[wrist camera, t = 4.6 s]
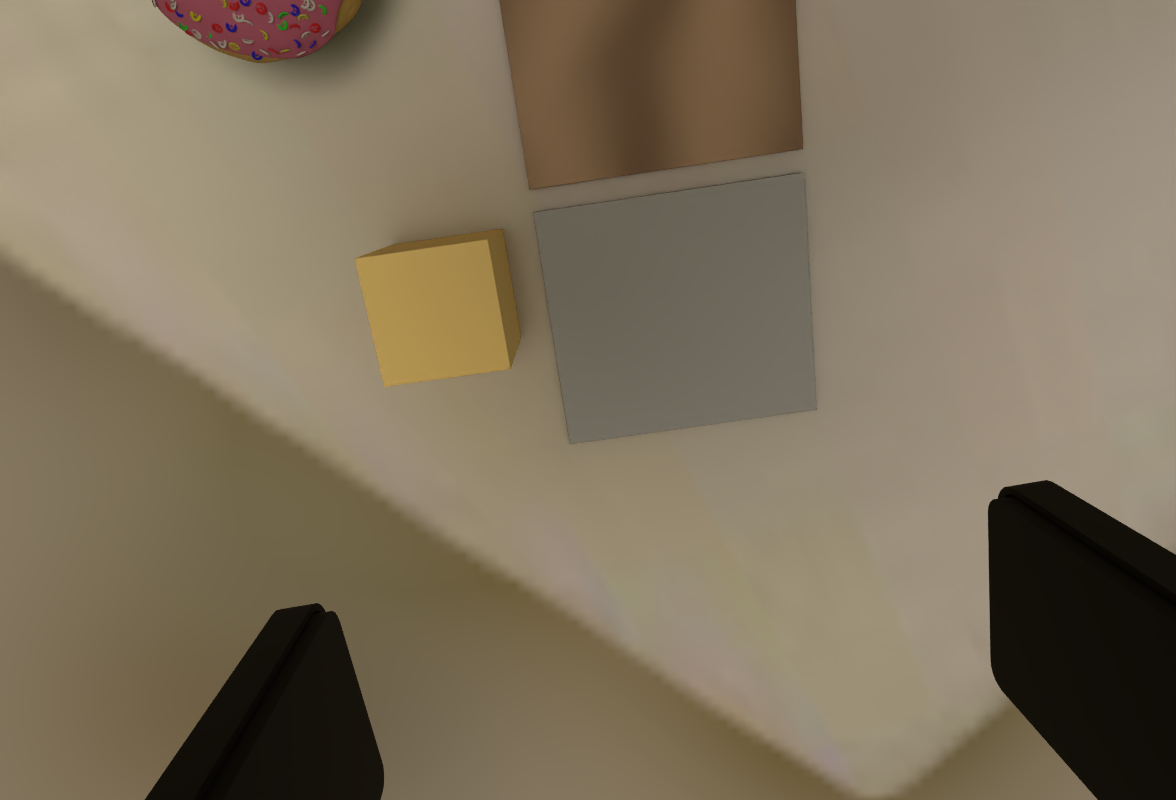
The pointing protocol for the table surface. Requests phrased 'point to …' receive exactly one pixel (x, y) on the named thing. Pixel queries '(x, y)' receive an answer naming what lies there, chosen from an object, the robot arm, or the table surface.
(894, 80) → the table surface
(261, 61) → the cupcake
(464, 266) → the mustard block
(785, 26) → the walnut mat
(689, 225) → the grey mat
